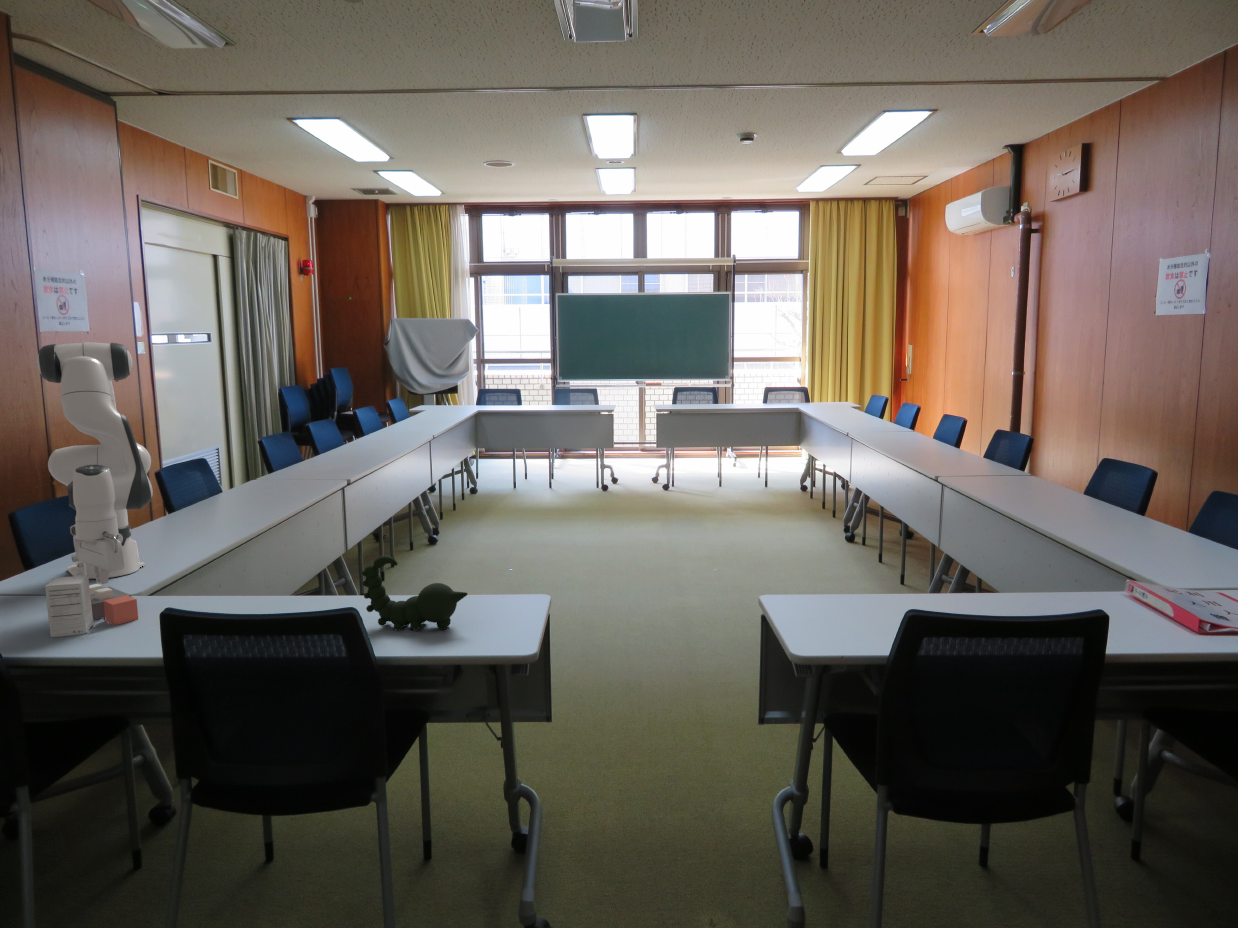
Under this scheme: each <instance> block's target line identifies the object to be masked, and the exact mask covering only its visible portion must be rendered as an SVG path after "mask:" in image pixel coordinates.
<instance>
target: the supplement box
mask: <svg viewBox="0 0 1238 928" xmlns="http://www.w3.org/2000/svg"><path fill="white" fill-rule="evenodd" d="M89 580H90V579H88V575H82V576H72V575H71V576H62V577H54V578H52V579H51V580H50V581H49V582H48V583H46V585H44V589H45V597H46V598H45V599H46V607H47V608H46V609H47V615H48V625H49V633H50V634H49V635H50V638H56V637H57V638H59V637H64V636H65V637H68V636H76V635H85V634H87V633H88V631H89V630H90V628H92V626H93V625H94V620H93V616H92V607H91V597H90V588H89V585H90V581H89Z"/></svg>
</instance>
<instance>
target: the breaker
mask: <svg viewBox="0 0 1238 928" xmlns="http://www.w3.org/2000/svg"><path fill="white" fill-rule="evenodd" d="M89 588H90V596H93V595H95V592H94V590H98V589H103V588H104V587H103V584H101V583H95V584H89Z"/></svg>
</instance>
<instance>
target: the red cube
mask: <svg viewBox="0 0 1238 928" xmlns="http://www.w3.org/2000/svg"><path fill="white" fill-rule="evenodd" d="M137 599H138V598H135V597H132V596H131V597H130V596H128V595H126V596H121V597H117V598H113V599H108V600H104V601H103V602H104V612H105V617H104V619H105V622H107V623H110V624H111V625H114V626H117V625H120V624H125V623H128V622H132V621H133V622H134V621H136V619H137V620H139V612H138V601H137Z"/></svg>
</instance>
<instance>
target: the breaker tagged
mask: <svg viewBox="0 0 1238 928" xmlns="http://www.w3.org/2000/svg"><path fill="white" fill-rule="evenodd" d="M102 588H103V589H98V590H94V592H95V599H97V600H99V601H100V600H104V599H109V598H113V591H112V589H110V588H105V587H102Z"/></svg>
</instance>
